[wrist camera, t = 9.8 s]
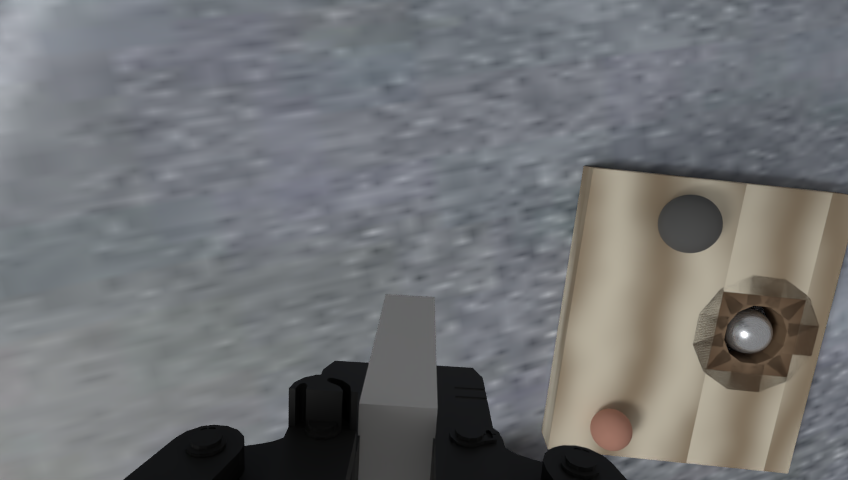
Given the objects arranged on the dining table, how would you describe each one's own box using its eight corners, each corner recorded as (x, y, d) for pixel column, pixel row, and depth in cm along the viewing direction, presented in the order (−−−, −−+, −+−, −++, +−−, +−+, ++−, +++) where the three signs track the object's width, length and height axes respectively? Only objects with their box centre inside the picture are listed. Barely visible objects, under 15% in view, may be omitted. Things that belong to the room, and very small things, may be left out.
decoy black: (654, 188, 39) (679, 195, 35) (709, 194, 39) (741, 201, 35) (643, 243, 40) (667, 255, 36) (698, 249, 40) (728, 262, 36)
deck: (541, 431, 45) (547, 449, 43) (583, 165, 41) (593, 168, 39) (768, 455, 45) (787, 473, 43) (834, 192, 41) (859, 195, 39)
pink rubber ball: (588, 399, 42) (600, 419, 39) (627, 403, 42) (642, 423, 39) (582, 434, 42) (593, 457, 40) (620, 438, 43) (634, 461, 40)
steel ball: (722, 299, 43) (725, 314, 40) (772, 305, 42) (779, 321, 39) (717, 338, 44) (719, 356, 41) (766, 345, 43) (772, 364, 40)
